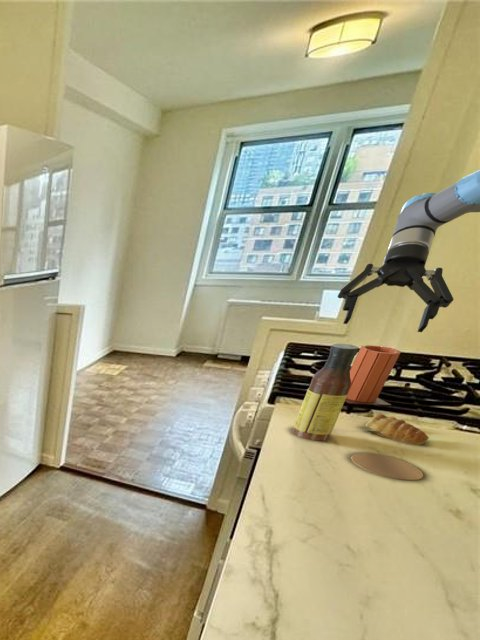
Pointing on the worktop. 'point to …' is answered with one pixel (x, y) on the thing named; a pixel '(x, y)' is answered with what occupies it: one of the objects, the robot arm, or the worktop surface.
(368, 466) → the cork coaster
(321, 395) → the sauce bottle
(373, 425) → the pastry
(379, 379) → the orange grooved cup
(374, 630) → the worktop surface
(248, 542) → the worktop surface
